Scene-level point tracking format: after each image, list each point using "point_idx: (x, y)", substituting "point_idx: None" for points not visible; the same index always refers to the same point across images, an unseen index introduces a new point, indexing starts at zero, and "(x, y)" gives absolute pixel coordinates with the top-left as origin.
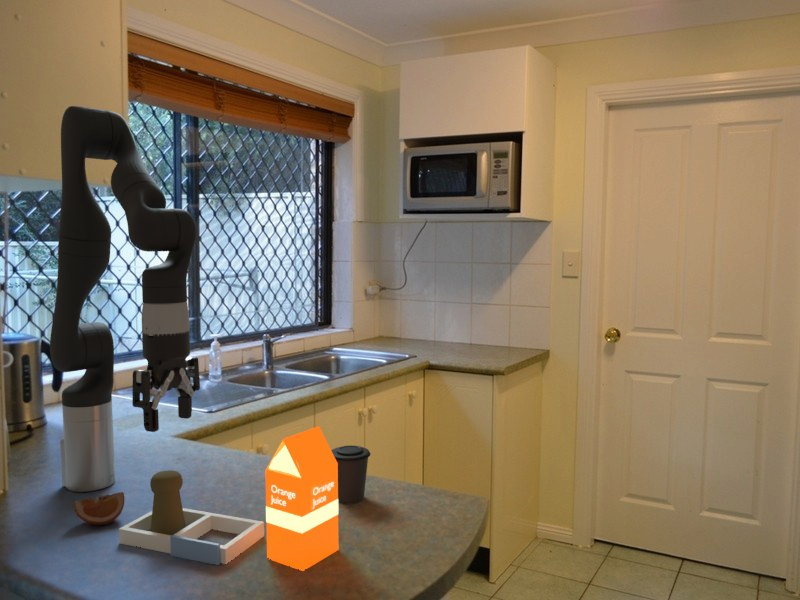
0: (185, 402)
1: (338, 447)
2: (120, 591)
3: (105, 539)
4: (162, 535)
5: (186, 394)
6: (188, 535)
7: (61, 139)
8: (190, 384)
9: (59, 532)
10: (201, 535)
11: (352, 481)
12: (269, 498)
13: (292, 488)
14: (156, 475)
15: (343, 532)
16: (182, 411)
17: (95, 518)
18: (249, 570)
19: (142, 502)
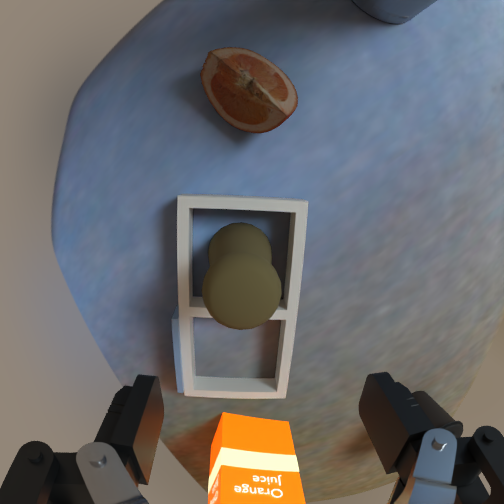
0: (385, 446)
1: (459, 425)
2: (78, 300)
3: (188, 157)
4: (183, 291)
5: (402, 475)
6: None
7: None
8: (470, 473)
9: (188, 62)
10: None
11: None
12: (219, 478)
13: None
14: (220, 285)
15: (315, 442)
16: (375, 404)
17: (218, 104)
18: (188, 407)
19: (353, 113)
